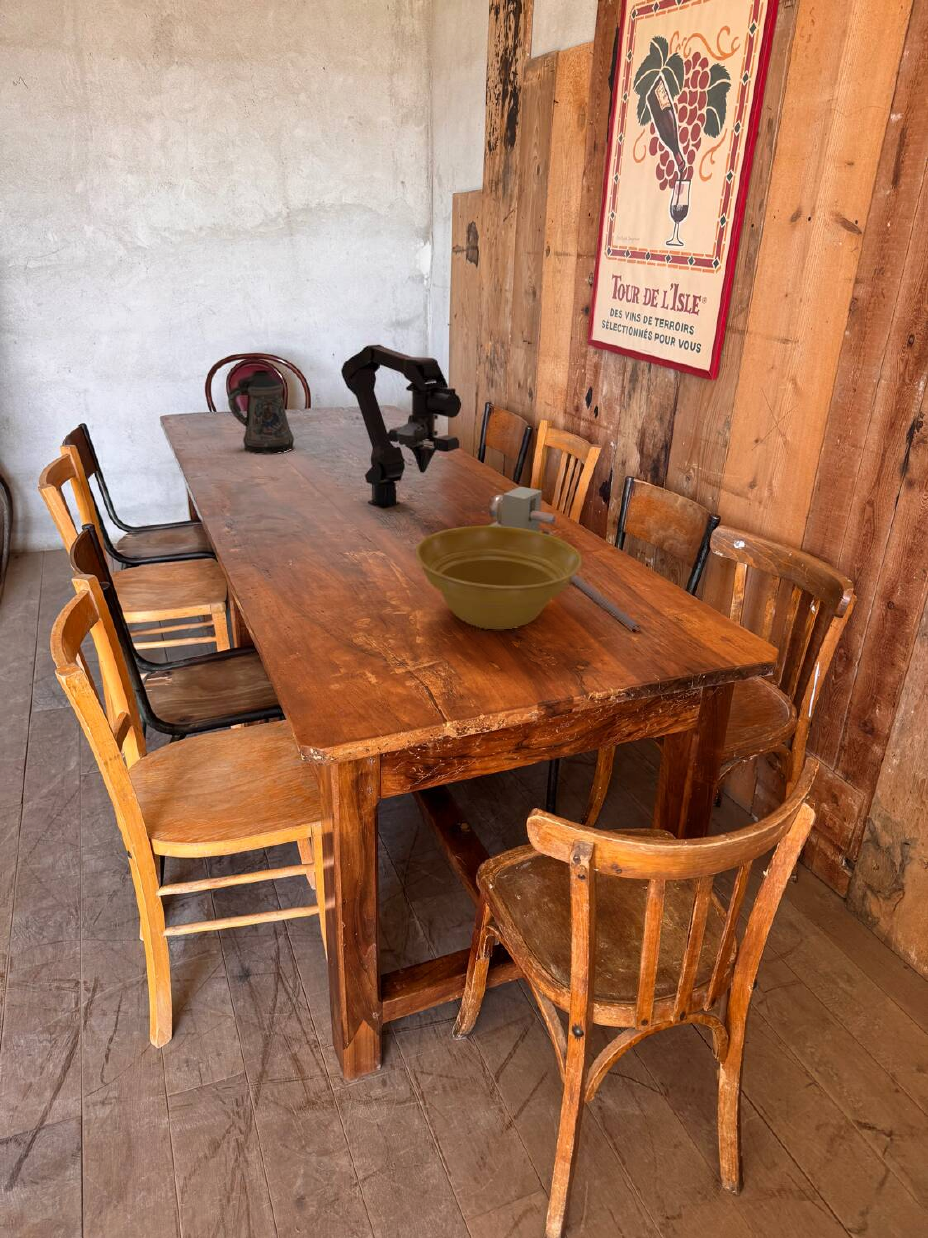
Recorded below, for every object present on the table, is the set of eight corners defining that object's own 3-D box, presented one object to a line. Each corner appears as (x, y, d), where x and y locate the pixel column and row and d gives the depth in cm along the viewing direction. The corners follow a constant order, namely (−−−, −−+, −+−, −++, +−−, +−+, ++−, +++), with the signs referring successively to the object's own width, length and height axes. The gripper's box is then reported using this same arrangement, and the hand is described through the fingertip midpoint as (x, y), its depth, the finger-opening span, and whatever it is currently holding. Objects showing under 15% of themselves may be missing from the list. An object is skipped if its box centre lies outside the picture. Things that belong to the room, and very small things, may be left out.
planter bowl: (603, 643, 158) (611, 577, 152) (437, 661, 149) (439, 591, 143) (541, 579, 185) (545, 521, 180) (398, 591, 177) (398, 530, 171)
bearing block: (479, 534, 211) (481, 489, 206) (498, 525, 218) (500, 481, 213) (535, 548, 203) (539, 502, 198) (553, 538, 210) (556, 493, 205)
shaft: (489, 520, 210) (490, 497, 207) (501, 515, 214) (503, 492, 212) (545, 534, 202) (547, 510, 199) (557, 528, 206) (559, 504, 204)
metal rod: (575, 581, 186) (576, 572, 185) (639, 633, 163) (640, 623, 162) (567, 581, 186) (568, 573, 185) (631, 634, 163) (632, 624, 162)
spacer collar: (497, 522, 209) (498, 502, 207) (508, 517, 213) (509, 497, 211) (504, 524, 208) (505, 504, 206) (515, 519, 212) (516, 499, 210)
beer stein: (304, 447, 284) (301, 371, 273) (263, 458, 269) (257, 378, 258) (268, 440, 292) (263, 365, 281) (226, 450, 277) (219, 372, 266)
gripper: (373, 410, 208) (374, 472, 215) (435, 421, 199) (434, 485, 206) (401, 404, 217) (400, 463, 223) (461, 414, 208) (459, 476, 214)
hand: (422, 472), depth 216 cm, fingers closed
